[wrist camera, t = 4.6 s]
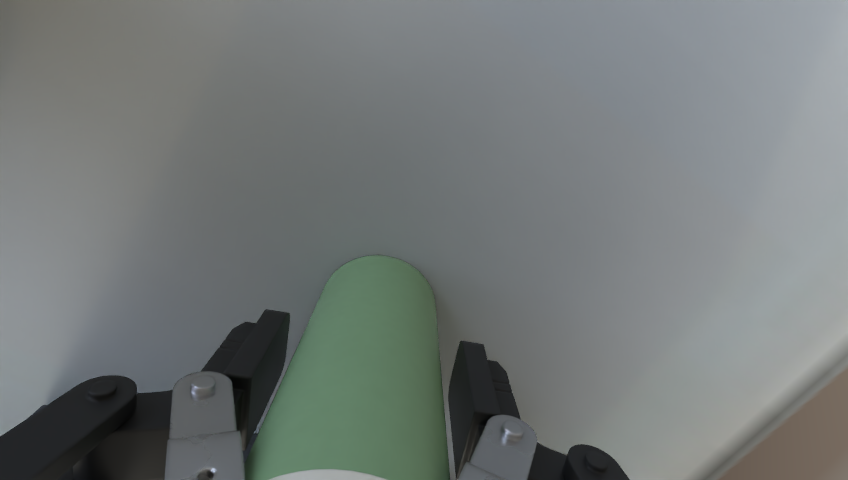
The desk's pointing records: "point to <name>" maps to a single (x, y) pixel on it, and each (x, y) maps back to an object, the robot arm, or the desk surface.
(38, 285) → the desk surface
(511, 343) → the desk surface
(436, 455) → the green tube
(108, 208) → the desk surface
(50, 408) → the robot arm
